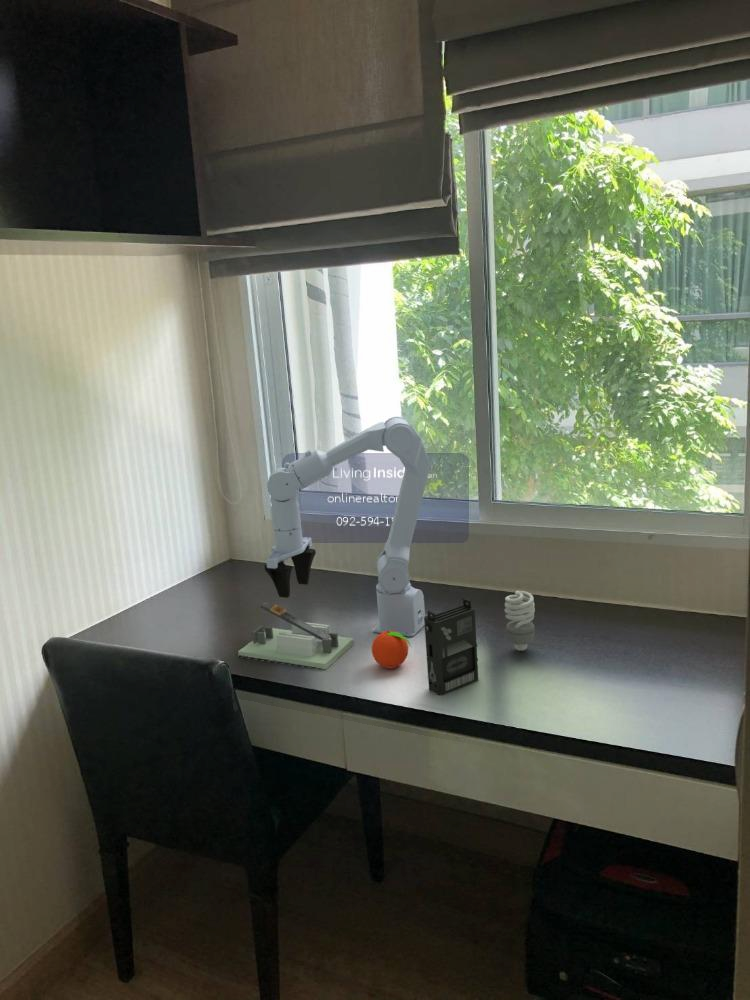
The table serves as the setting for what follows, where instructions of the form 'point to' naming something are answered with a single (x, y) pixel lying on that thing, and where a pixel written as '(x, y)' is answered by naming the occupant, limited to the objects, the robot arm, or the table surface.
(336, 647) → the heatsink board
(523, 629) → the light bulb
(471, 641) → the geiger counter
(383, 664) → the clementine
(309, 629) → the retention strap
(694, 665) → the table surface
